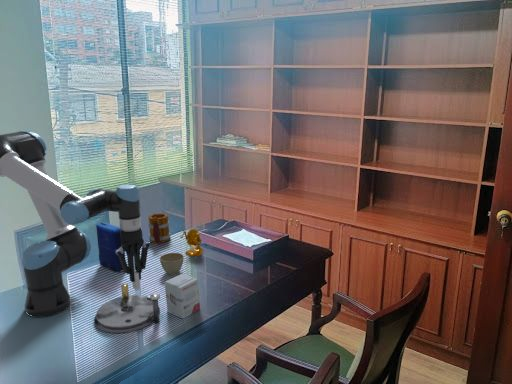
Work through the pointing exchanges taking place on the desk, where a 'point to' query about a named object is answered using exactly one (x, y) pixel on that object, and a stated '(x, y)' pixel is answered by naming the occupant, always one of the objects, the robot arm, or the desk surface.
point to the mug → (159, 228)
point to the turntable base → (155, 319)
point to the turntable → (125, 311)
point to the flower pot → (172, 263)
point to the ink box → (182, 295)
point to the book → (109, 246)
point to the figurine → (193, 242)
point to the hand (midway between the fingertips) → (136, 288)
